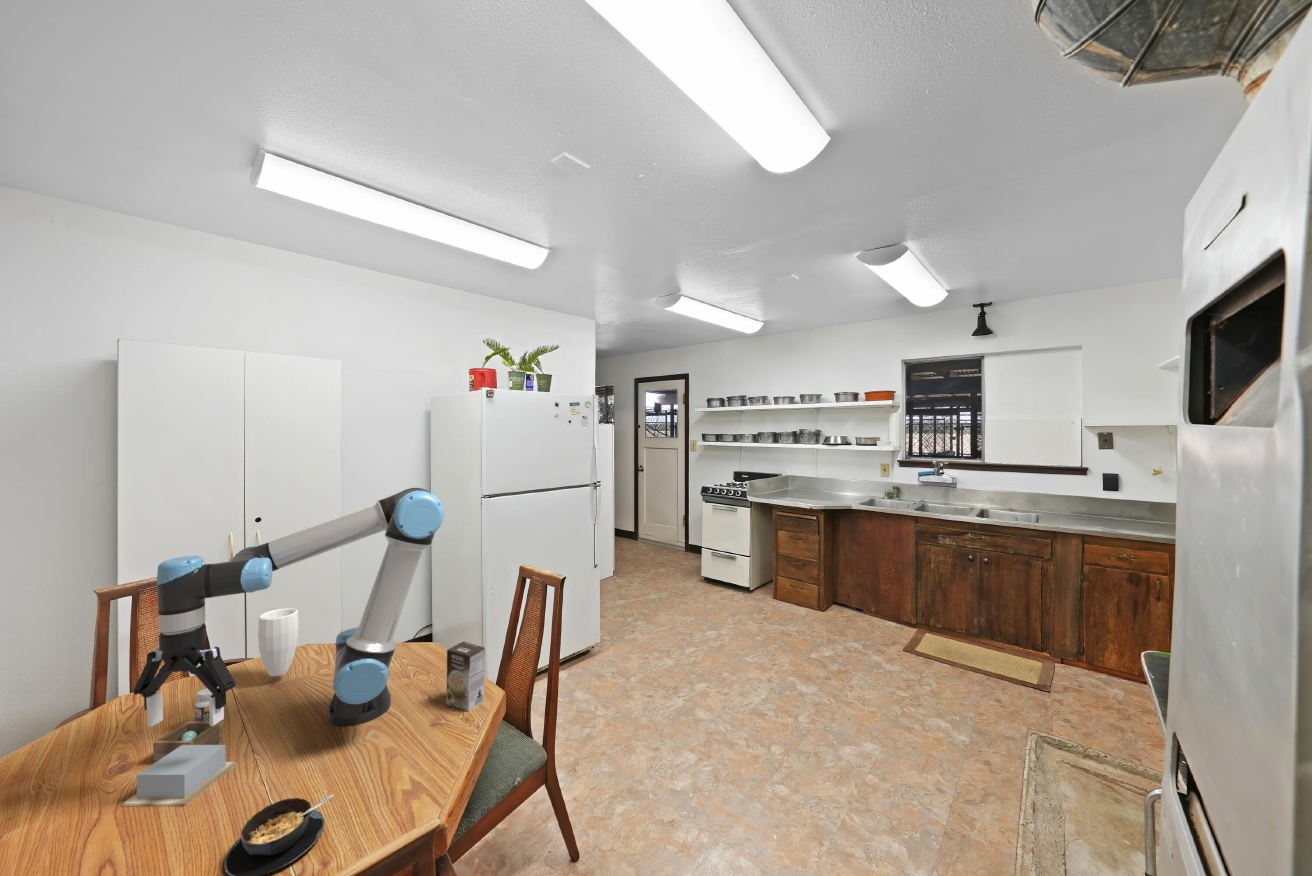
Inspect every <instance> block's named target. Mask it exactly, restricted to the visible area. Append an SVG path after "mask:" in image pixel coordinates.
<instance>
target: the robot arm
mask: <svg viewBox="0 0 1312 876" xmlns="http://www.w3.org/2000/svg"><path fill="white" fill-rule="evenodd" d="M444 512H445V511H444V507H443V504H442V502H441V500H440V499H439V498H438V497H437V496H436V495H435V494H434V493H432V492H430V491H429V490H427V489H425V488H422V487H411V488H406V489H404V490H401V491H400V492H397V493H395V494H392V495H390V496H388V497H387V496H386V497H385V498H383V499H379V500H377V501H376V503H375V504H374V505H373V506H370V507H367V508H364V509H361V510H357V511H355V512H353V513H350V514H347V515H344V516H340V517H338V518H335V519H331V520H329V521H327V522H323V523H321V524H317V525H315V526H312V527H309V528H306V529H304V530H300V531H297V532H294V533H291V534H288V535H285V536H283V537H279V538H277V539H274V540H272V541H269V542H265V543H262V544H260V545H252V546H248V547H246V548H243V549H241V550H239V551H238V552H237V553H235V555H234V556H233V557H232V559H231V560H230V561H224V562H217V563H206V562H205V559H204V557H203V556H200V555H188V556H187V555H186V556H180V557H174V558H169V559H167V560H164V561H162V562H161V563H159V565H158V566H157V573H156V574H157V575H156V579H157V580H156V584H155V585H156V592H157V609H158V610H157V612H158V613H157V615H158V619H157V621H158V623H157V624H158V627H157V628H158V632H159V633H160V634H159V635H158V644H159V645H158V648H156V649H154V650H152V651H150V652H148V653H147V654H146V663H145V665H144V666H143V669H142V671H141V674H140V675H139V678H138V680H137V682H136V684H135V686H134V689H133V694H134V695H138V694H139V695H141V697H142V698H143V703H144V704H143V706H144V710H145V711H146V723H147V725H146V726H147V728H152V727H154V726H155V725H157V724H159V723H160V722H162V721H163V720H164V709H163V708H164V707H163V706H164V705H163V691H161V687H162V686H163V684H165V682H166V681H167V679H169V677H170V676H171V675H172V673H178V672H185V673H187V672H189V673H190V674H191V675H195V677H196V678H197V679H198V680H199V681H200V682H201V683H202V684H203V685H204V686H205V688H208V690H209V691H210V692H211V693H212V695H211V696H209V714H210V726H214V725H215V724H217V723H218V722H220V721H221V720H223V719H224V720H225V706H226V705H227V692H228V691H229V690H231V689H233V688H235V687H236V681H235V679H234V678H233V676H232V675H231V673H230V671H229V669H228V667H227V665H226V663H225V662H224V660H223V658H222V656H221V651H220V650H221V649H220V647H219V646H214V647H212V648H209V649H206V648H205V642H206V640H207V625H206V624H205V623H206V599H211V598H212V599H213V598H216V597H217V598H218V597H224V596H231V595H239V594H245V593H250V594H252V593H254V592H259V591H263V590H267V589H269V588H270V586H272V580H273V572H275V571H277V570H280V569H283V568H285V567H288V566H291V565H294V564H296V563H299V562H301V561H305V560H307V559H309V558H312V557H316V556H319V555H320V554H323V553H327V552H329V551H331V550H335V549H337V548H340V547H342V546H344V545H349V544H351V543H353V542H356V541H357V542H358V541H359V540H362V539H365V538H367V537H370V536H372V535H376V534H378V533H381V532H385V533H384V537H385V539H386V540H387V542H388V544H387V547H386V550H385V552H384V555H383V557H382V561H381V563H380V566H379V569H378V572H377V575H376V578H375V580H374V583H373V586H372V588H371V592H370V594H369V597H368V600H367V602H366V605H365V608H364V611H363V614H362V616H361V619H360V622H359V625H358V626H357V627H353V628H348V629H346V630H343V631H340V633H338V634H337V636H336V639H335V643H334V645H335V666H334V677H333V680H332V687H333V691H334V693H333V695H332V699H331V702H330V704H329V708H328V712H327V713H328V714H327V720H328V722H329V723H330V724H331V725H333V726H335V727H336V726H338V727H351V726H356V725H361V724H364V723H368V722H370V721H373V720H374V719H377V718H379V717H381V716H382V715H383V714H385V713H386V712H387V711H388V710H389V709H390V707H391V706H392V697H391V696H392V695H391V693H390V690H389V687H388V681H389V675H390V672H389V668H390V665H391V662H392V659H393V656H394V653H395V651H396V646H397V644H396V643H395V641H394V639H393V637H394V634H395V631H396V628H397V626H398V622H399V620H400V616H401V615H402V610H403V608H404V606H405V603H406V599H407V596H408V594H409V591H410V588H411V584H412V582H413V579H414V576H415V574H416V570H417V568H418V564H419V562H420V558H421V556H422V553H423V551H424V550H425V549H427V548H428V547H429V548H430V546H431V545H432V543H433V539H434V537H435V533H436V532H437V531H438V530H439V528H440V527H441V525H442V523H443V521H444V514H445V513H444ZM162 661H163V662H164V663H163V664H162V666H161V663H162ZM160 666H161V668H160ZM159 668H160V669H159ZM217 687H219V688H217Z"/></svg>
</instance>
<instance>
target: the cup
mask: <svg viewBox="0 0 1312 876" xmlns="http://www.w3.org/2000/svg"><path fill="white" fill-rule="evenodd" d="M257 636H258V638H257V639H258V640H257V641H258V650H259V654H260V658H261V661H262V664H263V667H264V668H265V670H266V672H267V674H268V675H269V676H270V677H277V676H281V675H285V674H286V673H288V671H289V670H290V667H291V665H292V662H293V660H294V656H295V652H296V649H297V648H296V647H297V644H298V641H299V640H298V639H299V638H298V637H299V611H298V609H296V608H294V607H293V608H292V607H288V608H278V609H274V610H269V611H266V612H264V613H262V614H261V615H259V617H258V631H257Z"/></svg>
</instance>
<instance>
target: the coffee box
mask: <svg viewBox="0 0 1312 876" xmlns="http://www.w3.org/2000/svg"><path fill="white" fill-rule="evenodd" d="M485 652H486V648H485V647H484V646H481V645H477V644H474V643H470V642H468V641H462V642H459V643H457V644H456V645H453V646H452V647H450V648H448V649H446V705H448V706H451V707H454V708H457V709H460V710H461V711H462V710H463V711H466V712H471V711H473V710H474V709H476V708H477V707H478V706H480V705H481V704H483V703H485V673H486V672H485V670H486V669H485V663H486V662H485V661H486V660H485V656H486V653H485Z"/></svg>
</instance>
